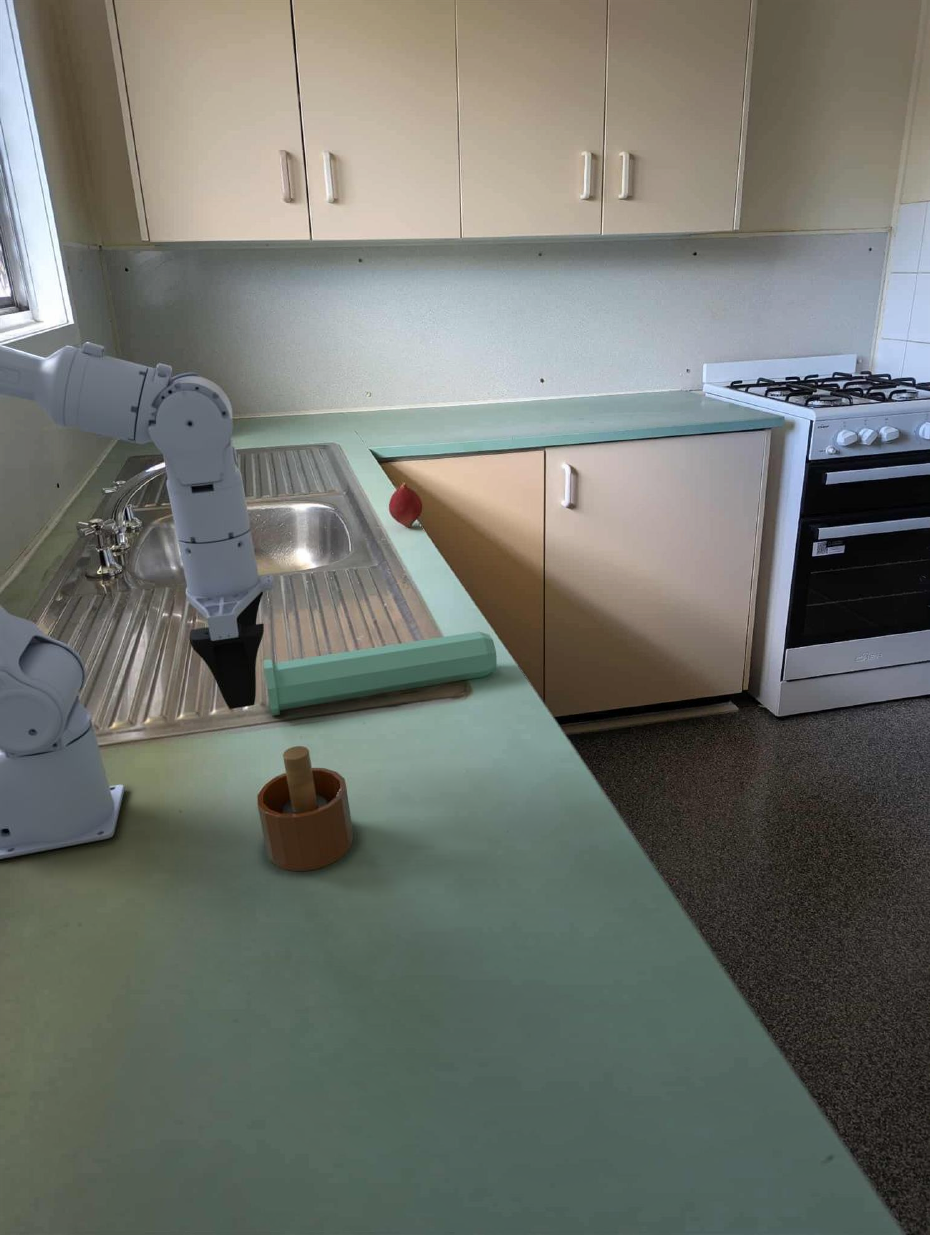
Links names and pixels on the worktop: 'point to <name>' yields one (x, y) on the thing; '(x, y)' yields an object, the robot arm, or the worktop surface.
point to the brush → (300, 782)
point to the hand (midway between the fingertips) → (242, 685)
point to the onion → (405, 505)
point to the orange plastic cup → (306, 823)
